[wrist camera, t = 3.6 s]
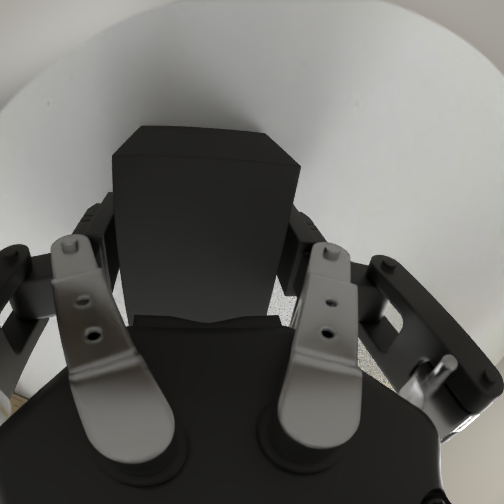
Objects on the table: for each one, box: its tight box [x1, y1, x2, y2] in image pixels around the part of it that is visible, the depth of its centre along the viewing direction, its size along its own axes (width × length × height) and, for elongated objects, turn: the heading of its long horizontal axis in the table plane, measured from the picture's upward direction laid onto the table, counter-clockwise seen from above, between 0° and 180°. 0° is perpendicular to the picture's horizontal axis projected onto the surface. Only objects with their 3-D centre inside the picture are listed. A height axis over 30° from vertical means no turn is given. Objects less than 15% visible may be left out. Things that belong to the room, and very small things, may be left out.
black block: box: [112, 126, 301, 326], centre depth 11 cm, size 5×7×4 cm
